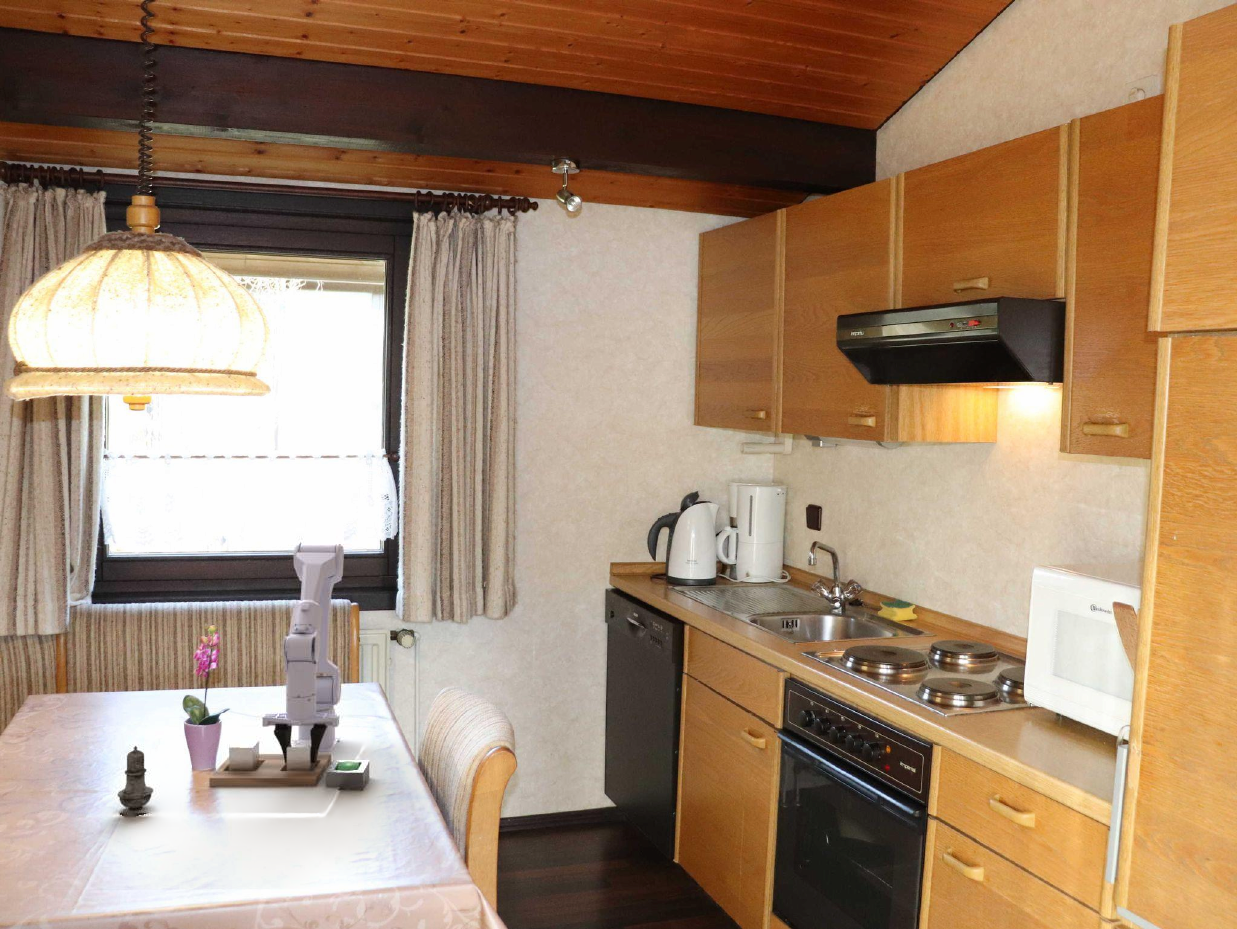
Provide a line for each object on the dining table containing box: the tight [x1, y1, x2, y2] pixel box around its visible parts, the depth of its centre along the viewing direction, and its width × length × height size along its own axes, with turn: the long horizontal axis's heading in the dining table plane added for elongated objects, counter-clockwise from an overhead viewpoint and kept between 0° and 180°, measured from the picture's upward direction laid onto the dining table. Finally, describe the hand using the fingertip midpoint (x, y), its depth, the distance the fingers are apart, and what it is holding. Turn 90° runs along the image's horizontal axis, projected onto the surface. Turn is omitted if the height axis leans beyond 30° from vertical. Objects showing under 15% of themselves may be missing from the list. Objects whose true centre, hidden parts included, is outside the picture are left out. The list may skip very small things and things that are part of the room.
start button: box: [338, 761, 359, 770], centre depth 206 cm, size 4×4×3 cm
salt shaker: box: [117, 745, 154, 818], centre depth 189 cm, size 6×6×12 cm
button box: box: [325, 759, 370, 791], centre depth 206 cm, size 7×7×4 cm
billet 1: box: [228, 739, 260, 771], centre depth 208 cm, size 4×4×6 cm
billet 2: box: [287, 739, 315, 771], centre depth 209 cm, size 4×4×6 cm
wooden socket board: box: [208, 753, 332, 788], centre depth 209 cm, size 14×20×2 cm
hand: (300, 761), depth 209 cm, fingers closed on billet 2, 4 cm apart
